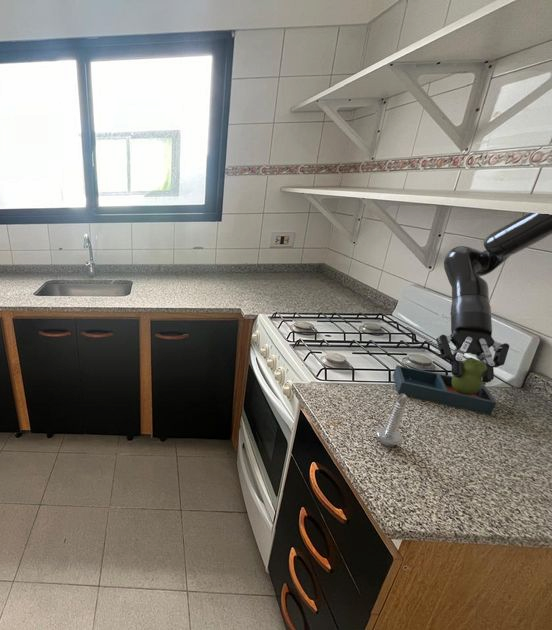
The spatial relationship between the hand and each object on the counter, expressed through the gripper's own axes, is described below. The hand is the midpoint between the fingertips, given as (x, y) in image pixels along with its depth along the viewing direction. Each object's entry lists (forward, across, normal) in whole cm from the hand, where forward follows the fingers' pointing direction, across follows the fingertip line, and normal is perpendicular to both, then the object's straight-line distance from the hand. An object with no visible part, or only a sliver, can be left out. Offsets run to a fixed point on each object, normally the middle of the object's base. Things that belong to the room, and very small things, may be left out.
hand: (472, 379), depth 85 cm
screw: (+22, -21, -12) cm, 32 cm away
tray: (+4, -4, +6) cm, 9 cm away
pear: (+3, 0, +5) cm, 6 cm away
